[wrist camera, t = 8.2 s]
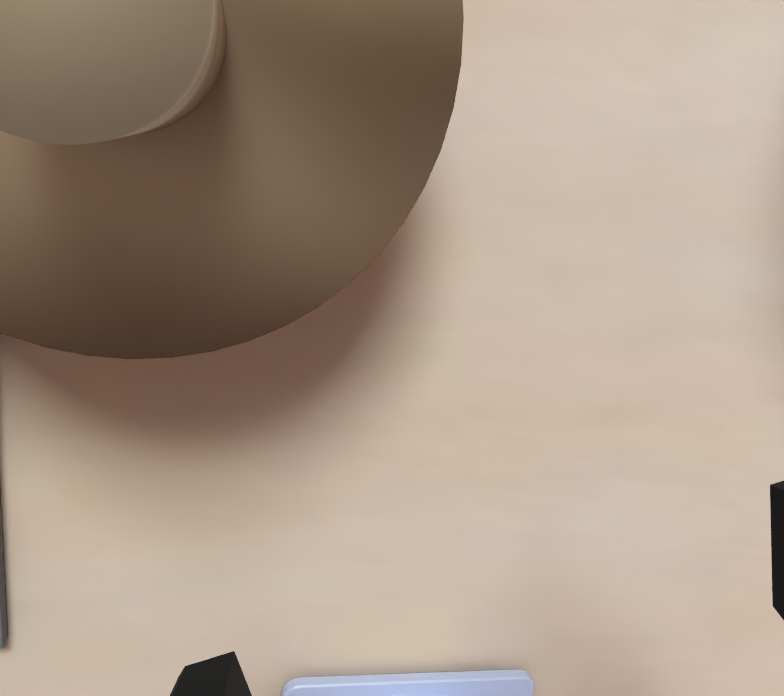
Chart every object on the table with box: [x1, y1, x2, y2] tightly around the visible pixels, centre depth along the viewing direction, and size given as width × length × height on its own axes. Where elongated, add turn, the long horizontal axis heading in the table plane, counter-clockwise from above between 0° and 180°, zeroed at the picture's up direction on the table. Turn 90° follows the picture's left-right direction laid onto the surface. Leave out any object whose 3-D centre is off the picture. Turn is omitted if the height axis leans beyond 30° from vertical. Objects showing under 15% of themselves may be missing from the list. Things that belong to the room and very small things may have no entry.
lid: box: [0, 0, 463, 359], centre depth 9 cm, size 11×11×5 cm
